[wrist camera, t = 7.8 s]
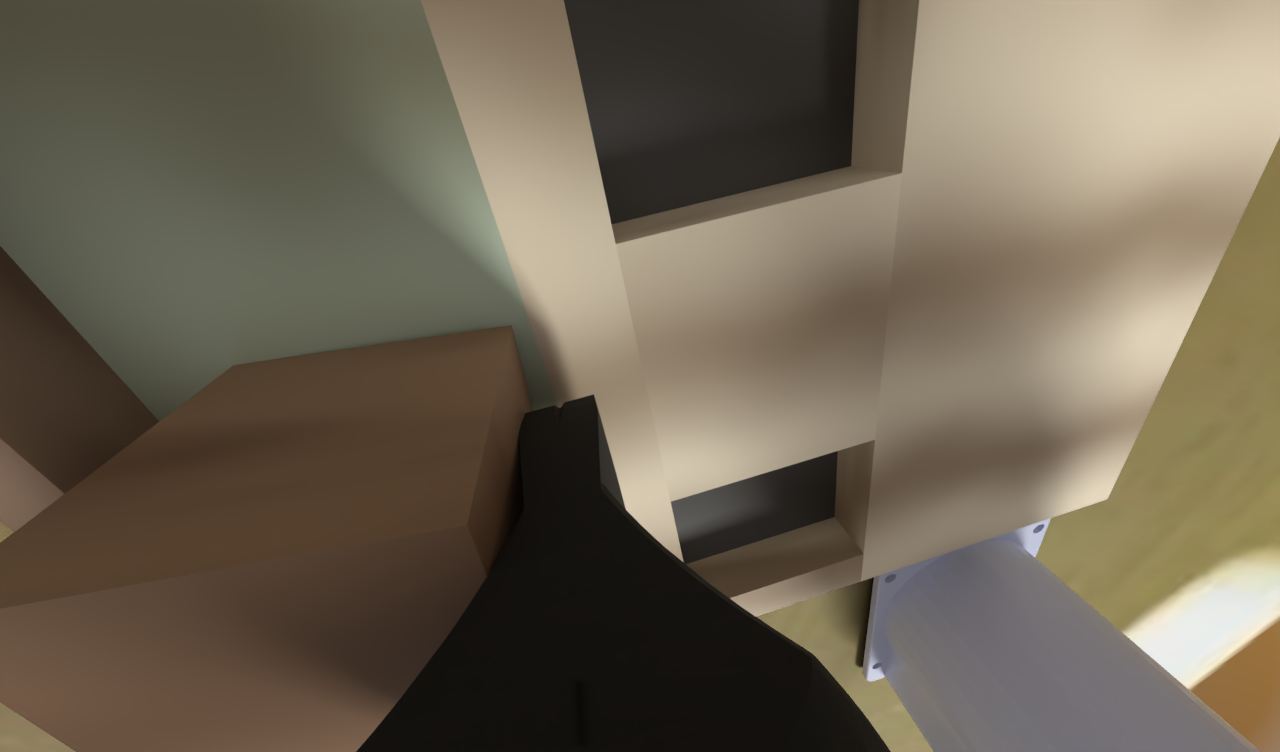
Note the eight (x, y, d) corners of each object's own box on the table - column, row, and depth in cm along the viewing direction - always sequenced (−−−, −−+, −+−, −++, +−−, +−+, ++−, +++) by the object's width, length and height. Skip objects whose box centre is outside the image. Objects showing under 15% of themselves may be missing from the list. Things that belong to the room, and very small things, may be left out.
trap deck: (1054, 464, 19) (1171, 540, 15) (415, 670, 16) (386, 815, 13) (1350, -328, 9) (1889, -620, 5) (-222, -87, 6) (-1127, -337, 3)
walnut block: (558, 512, 11) (558, 756, 7) (345, 550, 11) (206, 836, 7) (511, 325, 9) (467, 525, 4) (233, 364, 8) (-113, 628, 4)
